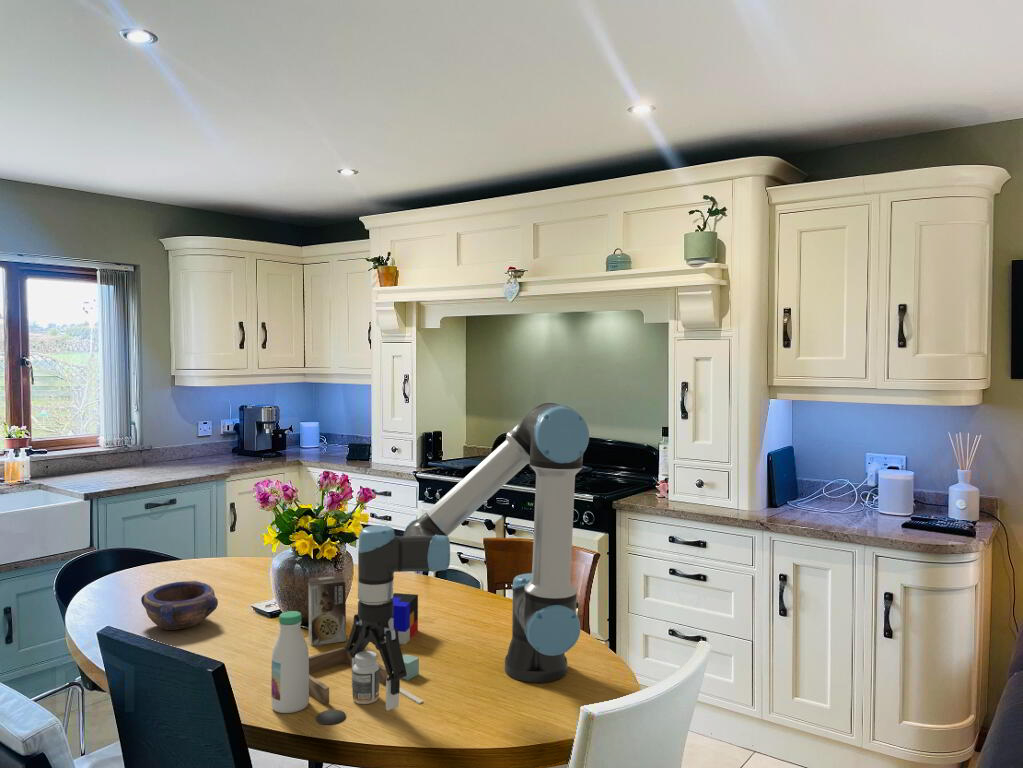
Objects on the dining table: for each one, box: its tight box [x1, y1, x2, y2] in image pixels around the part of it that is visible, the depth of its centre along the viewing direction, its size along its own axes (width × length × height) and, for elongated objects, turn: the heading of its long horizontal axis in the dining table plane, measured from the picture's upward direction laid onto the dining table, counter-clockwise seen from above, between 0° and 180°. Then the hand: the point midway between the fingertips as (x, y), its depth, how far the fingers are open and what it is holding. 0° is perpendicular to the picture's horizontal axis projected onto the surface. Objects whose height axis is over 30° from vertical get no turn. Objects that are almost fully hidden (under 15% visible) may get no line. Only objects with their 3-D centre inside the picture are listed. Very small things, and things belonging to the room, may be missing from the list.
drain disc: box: [315, 709, 347, 725], centre depth 159 cm, size 6×6×1 cm
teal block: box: [401, 653, 420, 681], centre depth 181 cm, size 4×4×4 cm
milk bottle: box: [270, 610, 310, 714], centre depth 164 cm, size 8×8×20 cm
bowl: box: [140, 580, 219, 631], centre depth 211 cm, size 18×18×10 cm
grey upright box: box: [307, 574, 347, 647], centre depth 202 cm, size 9×6×16 cm
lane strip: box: [399, 687, 424, 705], centre depth 171 cm, size 12×1×1 cm, turn 43°
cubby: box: [309, 645, 389, 706], centre depth 177 cm, size 18×16×4 cm
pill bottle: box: [351, 650, 380, 705], centre depth 167 cm, size 6×6×10 cm
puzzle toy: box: [383, 592, 419, 645], centre depth 205 cm, size 10×10×10 cm
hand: (374, 696), depth 165 cm, fingers open, 13 cm apart
